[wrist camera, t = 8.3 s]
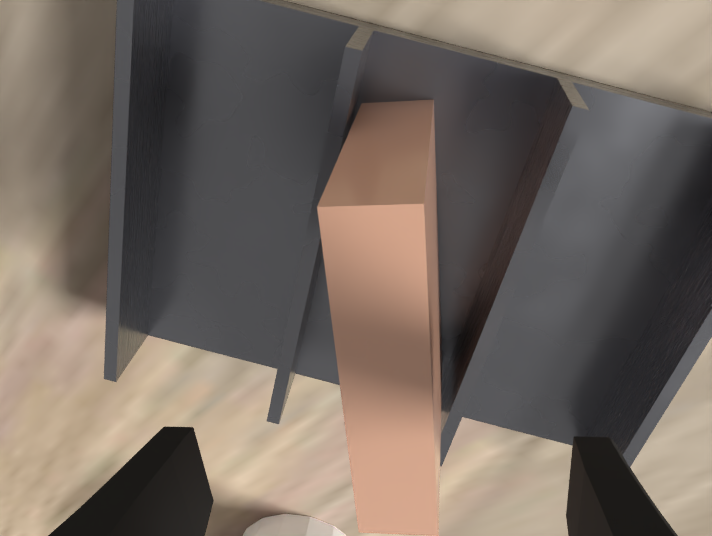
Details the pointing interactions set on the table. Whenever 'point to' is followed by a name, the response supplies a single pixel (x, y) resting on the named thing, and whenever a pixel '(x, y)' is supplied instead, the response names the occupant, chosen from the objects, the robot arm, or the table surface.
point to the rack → (454, 208)
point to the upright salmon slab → (388, 312)
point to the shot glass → (292, 527)
